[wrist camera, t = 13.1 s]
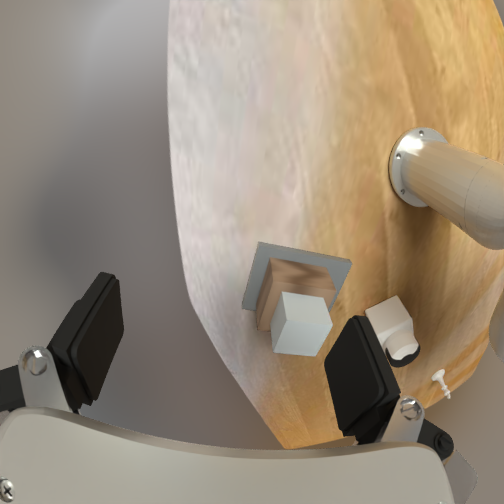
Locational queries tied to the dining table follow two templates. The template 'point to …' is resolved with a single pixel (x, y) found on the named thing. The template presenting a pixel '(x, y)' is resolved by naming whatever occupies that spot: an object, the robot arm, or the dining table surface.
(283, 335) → the blue-grey block
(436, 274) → the dining table surface
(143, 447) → the robot arm
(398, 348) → the medicine bottle
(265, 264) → the slate board
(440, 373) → the chess piece
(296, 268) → the walnut block
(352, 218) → the dining table surface
